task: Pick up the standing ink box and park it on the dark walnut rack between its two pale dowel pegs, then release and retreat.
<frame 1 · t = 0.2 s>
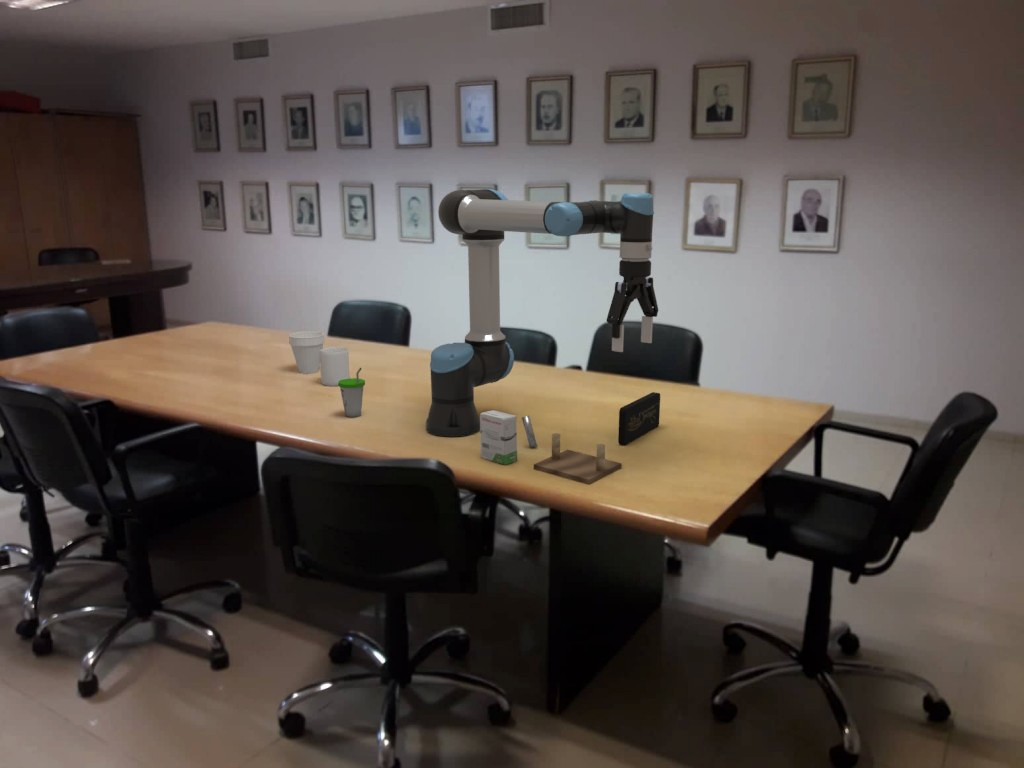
hand: (632, 346, 199), 28 cm above the table, fingers open, 13 cm apart
rack: (577, 468, 195), on the table
white flower pot: (308, 372, 293), on the table
nameplate: (639, 436, 220), on the table
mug: (332, 383, 277), on the table
pin: (526, 431, 211), point 4 cm above the table, tilted 70°
ink box: (498, 460, 202), on the table
cup 2: (353, 416, 239), on the table
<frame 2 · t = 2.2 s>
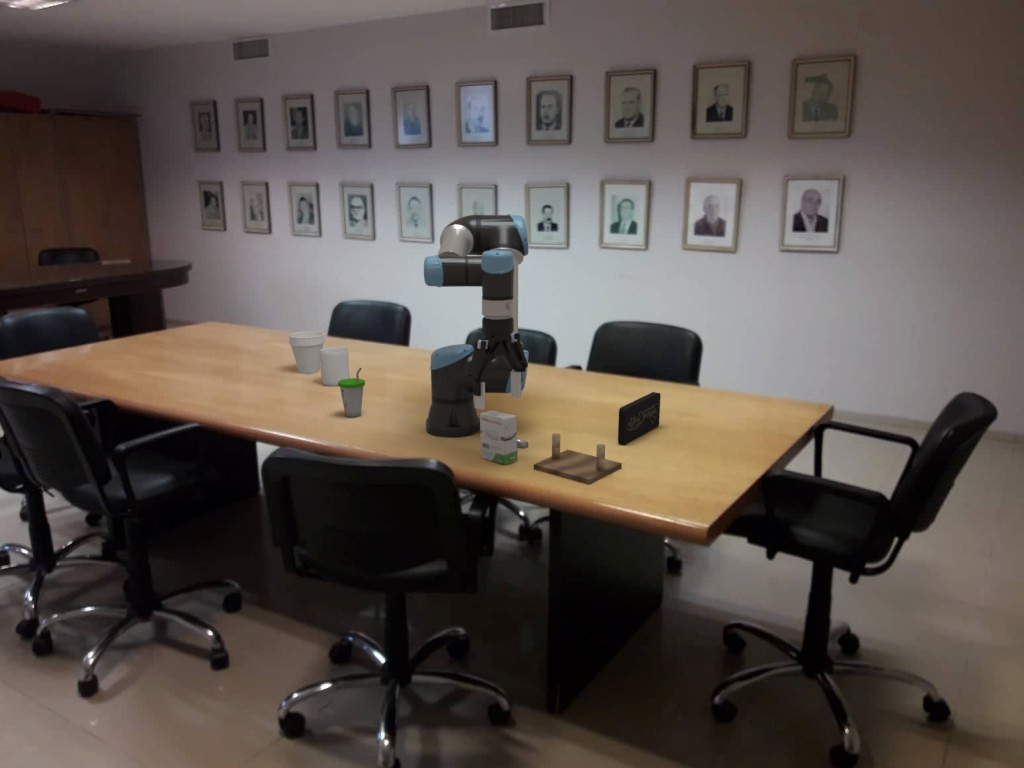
hand: (498, 402, 198), 15 cm above the table, fingers open, 13 cm apart
pin: (517, 440, 213), point 1 cm above the table, tilted 98°
everything else where it was.
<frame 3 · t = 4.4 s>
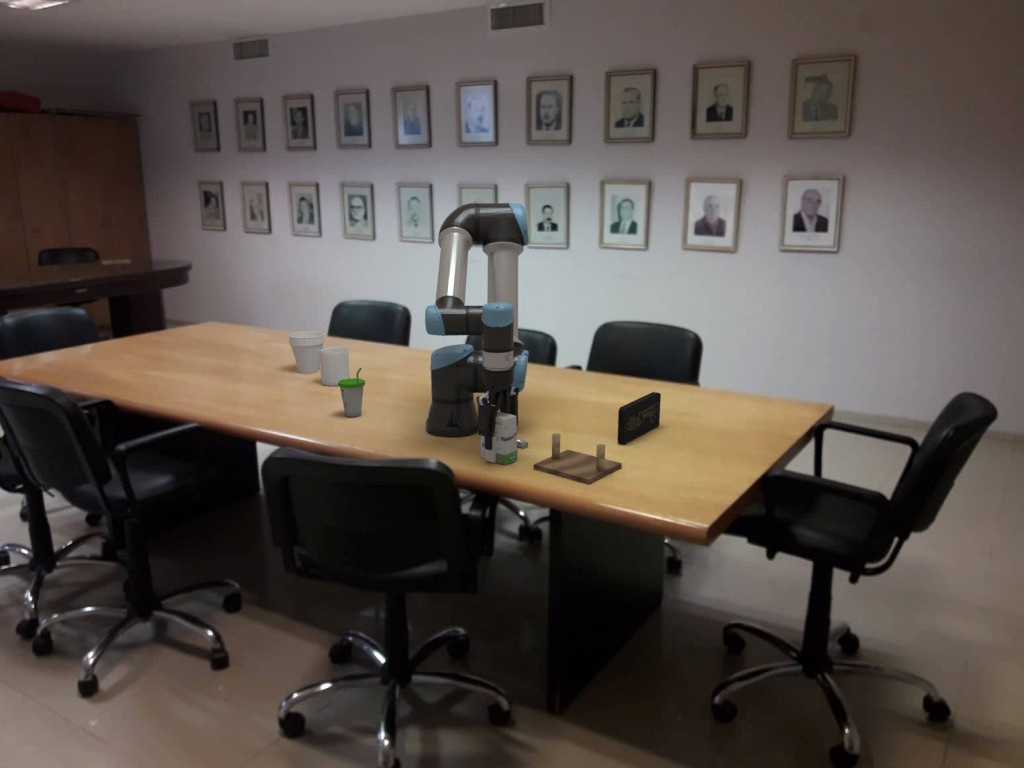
hand: (498, 458, 202), 0 cm above the table, fingers closed on ink box, 5 cm apart
pin: (516, 440, 213), point 1 cm above the table, tilted 106°
ink box: (498, 460, 202), on the table, touching gripper
everything else where it was.
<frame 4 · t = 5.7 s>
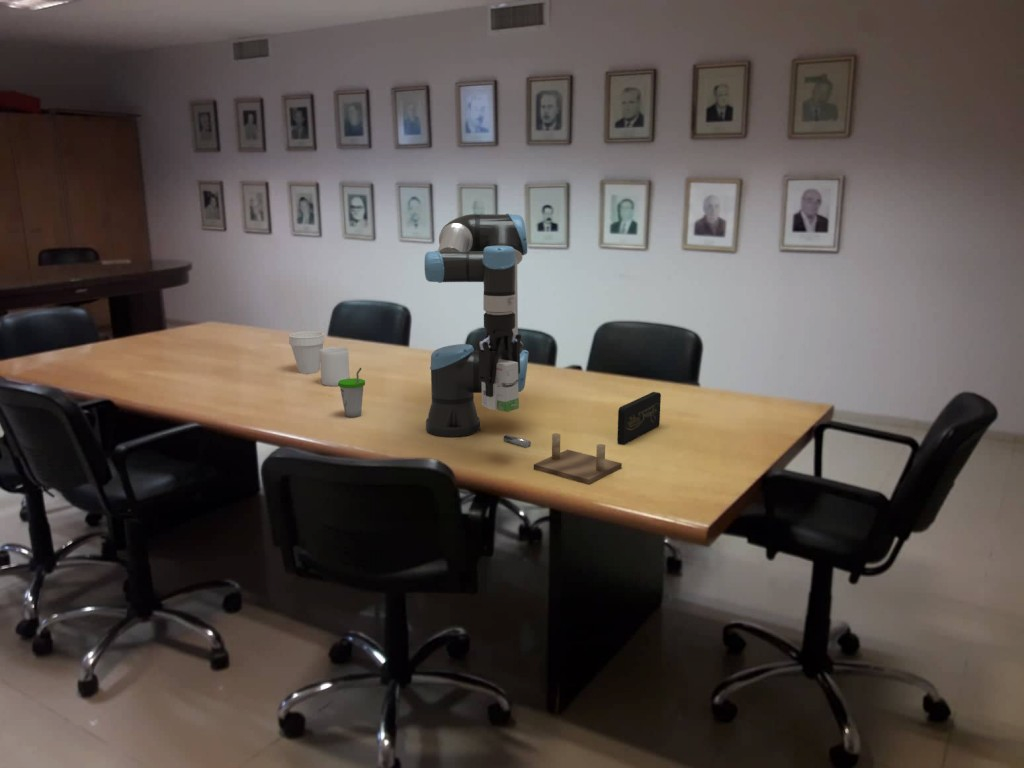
hand: (499, 406, 198), 14 cm above the table, fingers closed on ink box, 5 cm apart
pin: (518, 443, 214), on the table, tilted 38°
ink box: (499, 408, 198), point 13 cm above the table, touching gripper
everything else where it was.
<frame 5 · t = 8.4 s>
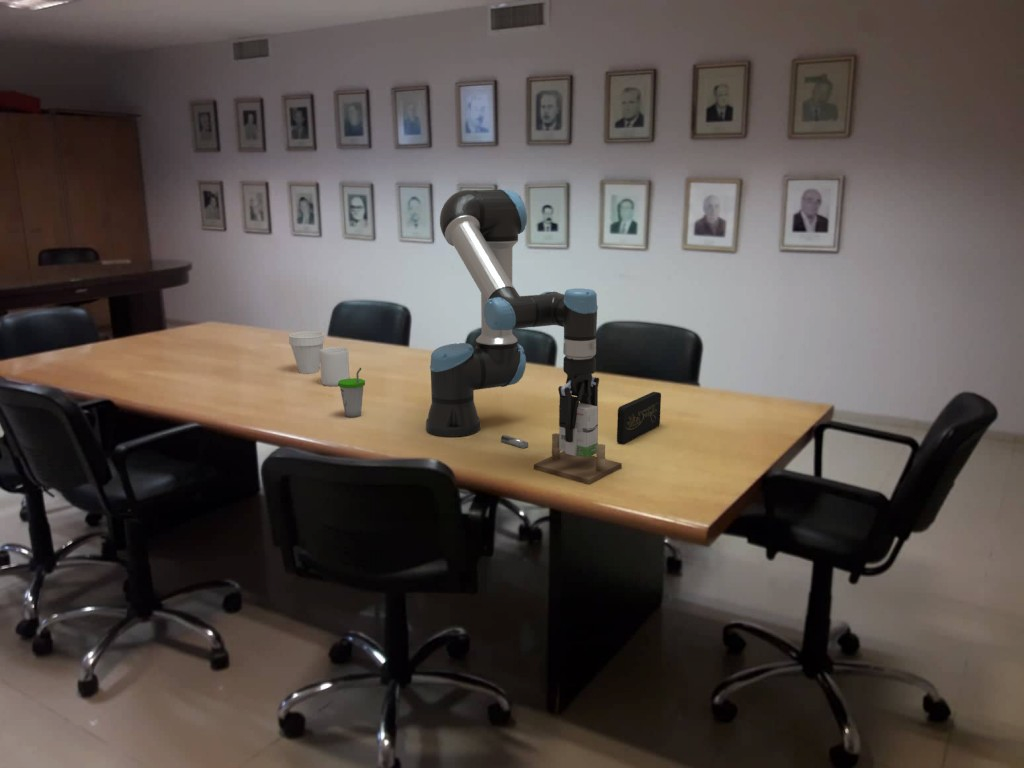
hand: (578, 450, 194), 4 cm above the table, fingers closed on ink box, 5 cm apart
pin: (517, 440, 213), point 1 cm above the table, tilted 101°
ink box: (578, 452, 194), point 4 cm above the table, touching gripper
everything else where it was.
when the fingers open (3 cm above the table, at t = 9.4 s): ink box drops 1 cm, resting on rack.
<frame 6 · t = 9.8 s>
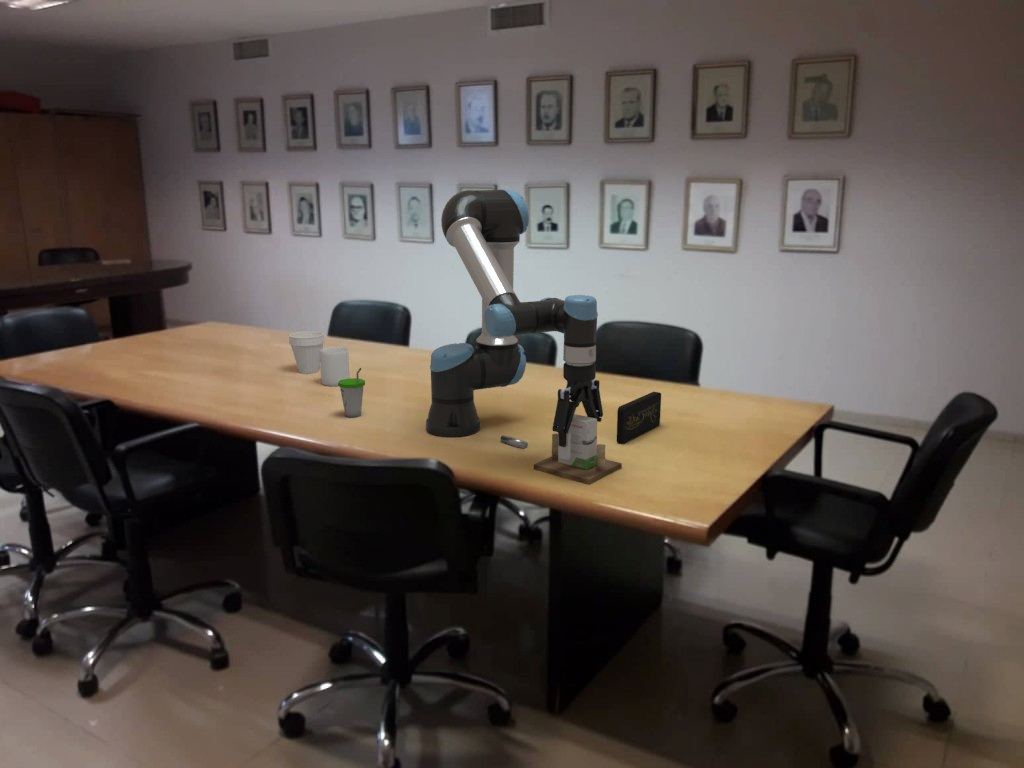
hand: (577, 452, 194), 4 cm above the table, fingers open, 10 cm apart
pin: (516, 439, 213), point 1 cm above the table, tilted 117°
ink box: (577, 464, 195), point 1 cm above the table, touching rack
everything else where it was.
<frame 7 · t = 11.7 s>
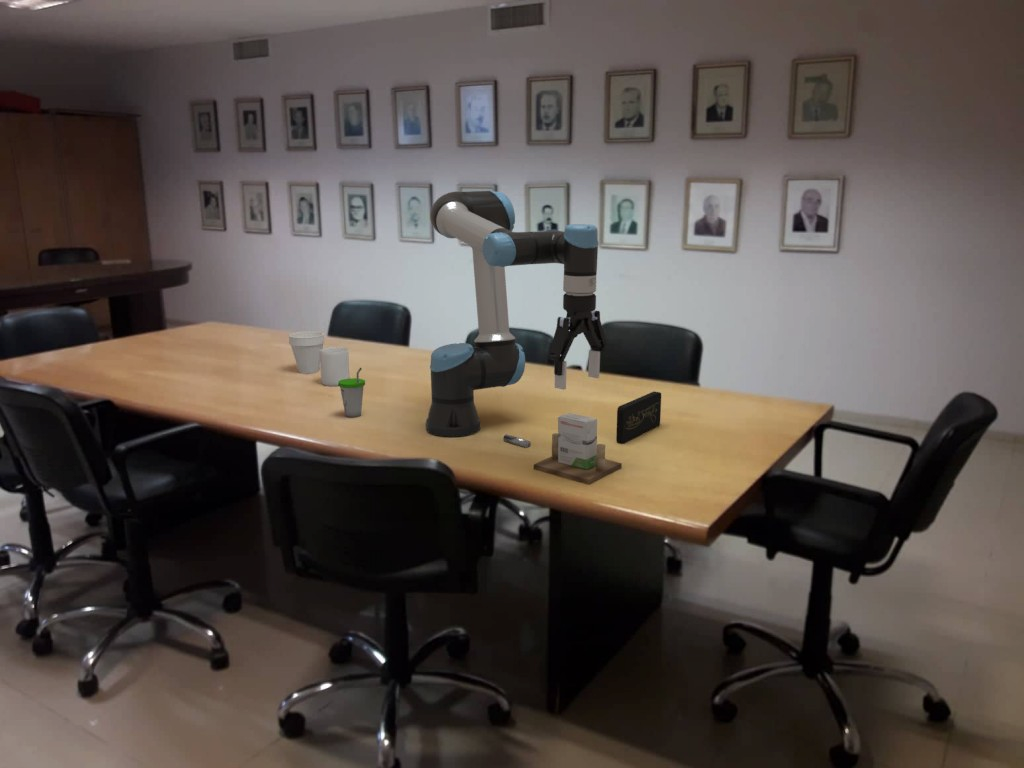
hand: (577, 382, 191), 21 cm above the table, fingers open, 13 cm apart
pin: (518, 443, 214), on the table, tilted 43°
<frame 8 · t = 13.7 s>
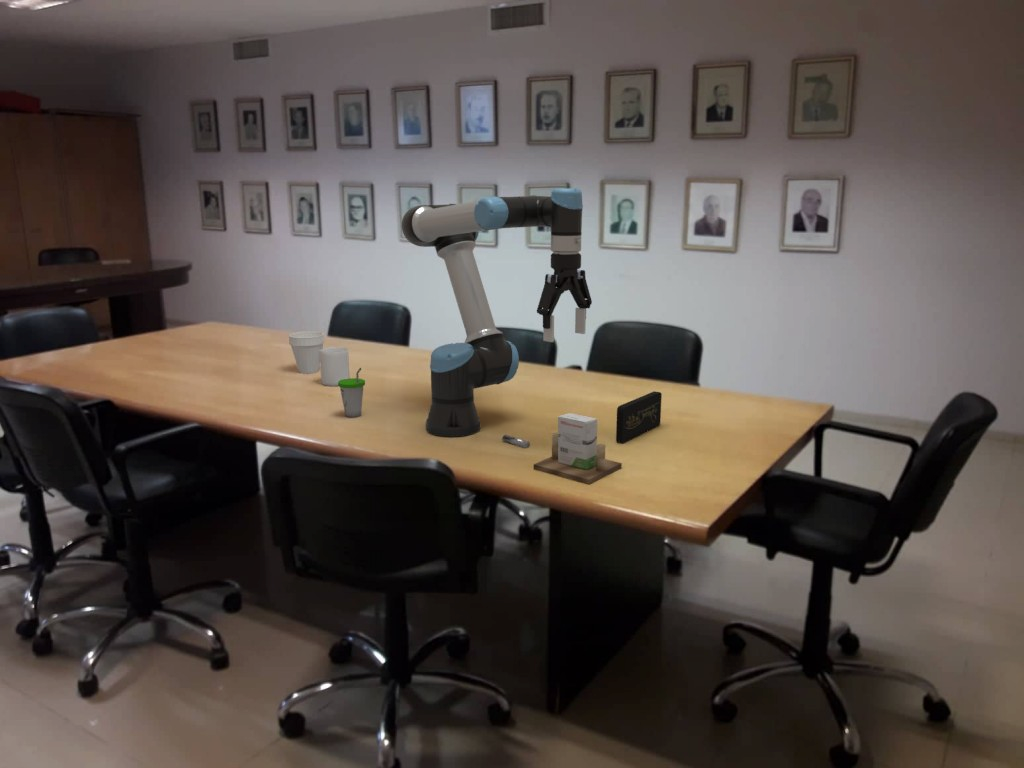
hand: (564, 337, 205), 29 cm above the table, fingers open, 13 cm apart
pin: (518, 442, 214), on the table, tilted 68°
at the end: ink box 0.2 cm from the rack (horizontally); ink box tilted 0°; the gripper is holding nothing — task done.
